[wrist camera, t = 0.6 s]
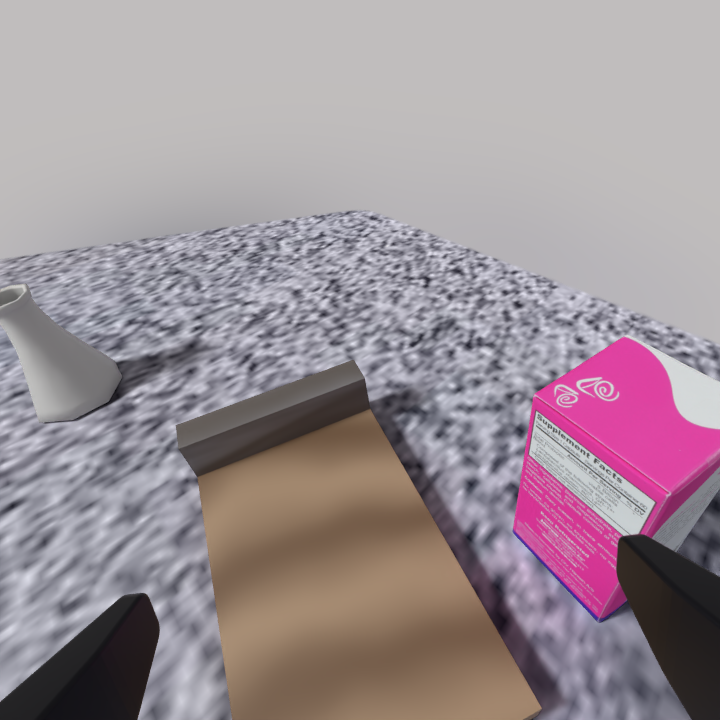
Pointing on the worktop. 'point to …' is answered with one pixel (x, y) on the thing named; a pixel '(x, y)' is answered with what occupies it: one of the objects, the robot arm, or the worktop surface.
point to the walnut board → (337, 568)
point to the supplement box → (616, 465)
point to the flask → (55, 360)
